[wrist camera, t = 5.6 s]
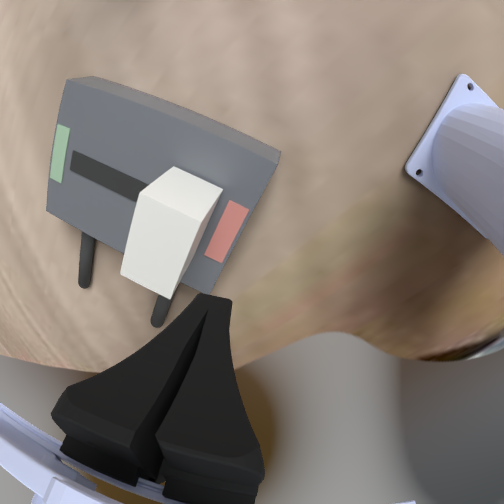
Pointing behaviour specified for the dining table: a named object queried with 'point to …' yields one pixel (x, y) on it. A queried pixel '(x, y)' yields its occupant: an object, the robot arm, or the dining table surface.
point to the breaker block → (150, 167)
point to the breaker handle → (167, 229)
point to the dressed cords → (85, 277)
